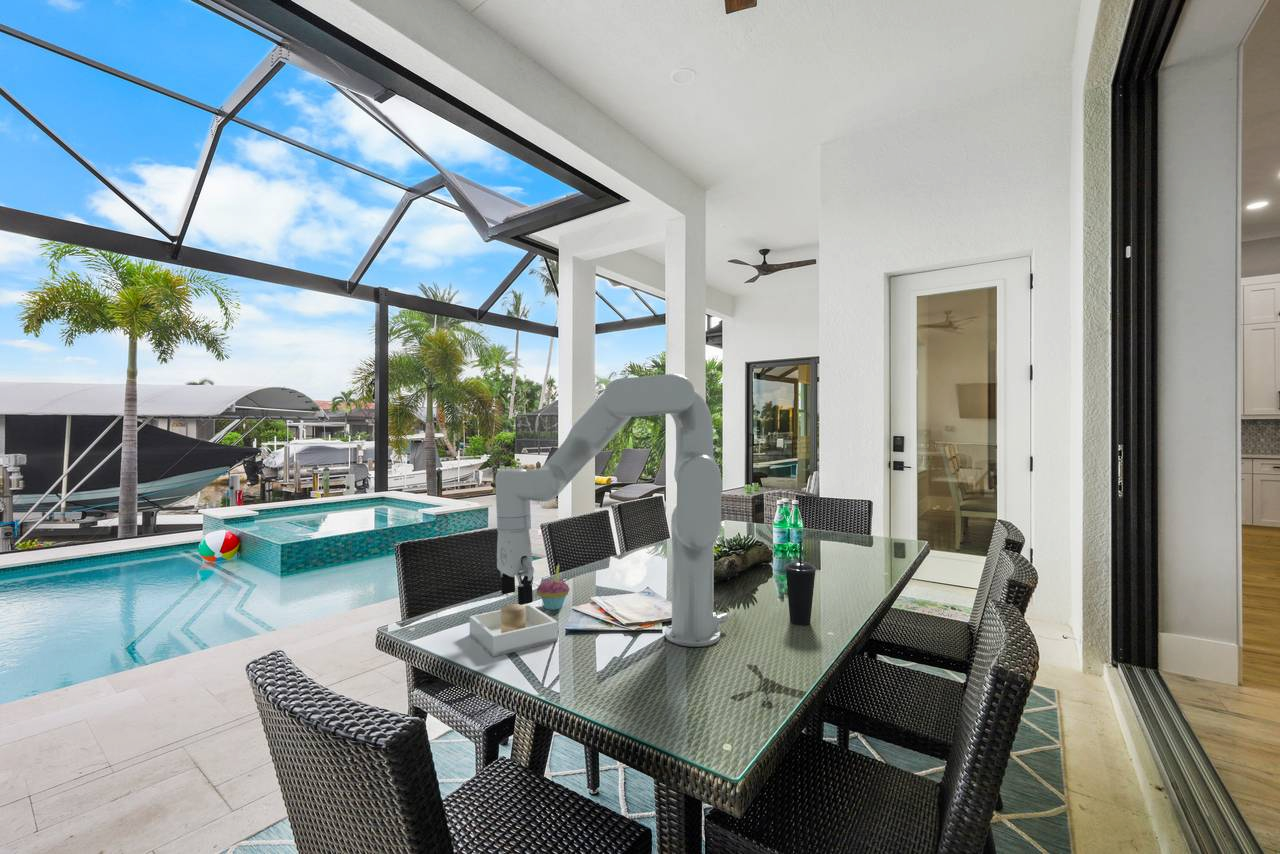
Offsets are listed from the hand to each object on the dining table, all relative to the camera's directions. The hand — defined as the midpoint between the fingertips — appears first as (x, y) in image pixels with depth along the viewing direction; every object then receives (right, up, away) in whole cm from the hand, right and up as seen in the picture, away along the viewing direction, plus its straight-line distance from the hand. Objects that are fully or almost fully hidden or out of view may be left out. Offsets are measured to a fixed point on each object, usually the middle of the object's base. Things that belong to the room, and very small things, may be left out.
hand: (516, 598), depth 127 cm
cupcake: (+5, -9, +21) cm, 24 cm away
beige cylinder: (-1, -8, 0) cm, 8 cm away
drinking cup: (+68, -9, +11) cm, 69 cm away
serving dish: (-1, -9, 0) cm, 9 cm away
